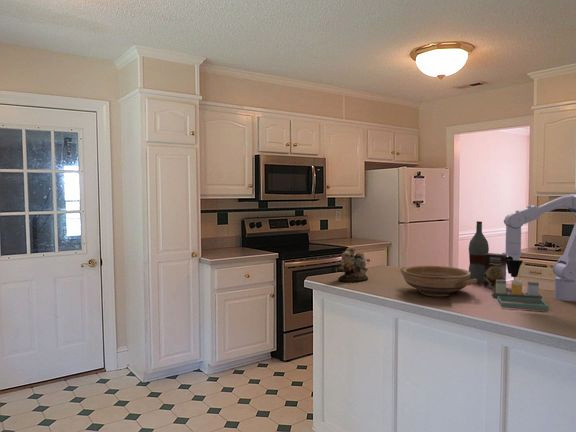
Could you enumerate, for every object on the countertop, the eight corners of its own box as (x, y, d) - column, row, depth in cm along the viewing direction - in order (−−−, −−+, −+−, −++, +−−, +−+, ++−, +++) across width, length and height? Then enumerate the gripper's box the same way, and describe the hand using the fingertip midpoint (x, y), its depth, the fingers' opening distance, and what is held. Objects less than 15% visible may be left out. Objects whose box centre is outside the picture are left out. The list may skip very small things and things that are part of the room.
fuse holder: (539, 300, 191) (539, 293, 190) (543, 303, 184) (543, 296, 184) (491, 297, 196) (491, 290, 196) (493, 300, 190) (493, 293, 189)
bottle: (481, 284, 221) (482, 222, 220) (464, 281, 229) (465, 221, 227) (491, 282, 227) (493, 221, 225) (474, 279, 234) (476, 220, 233)
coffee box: (483, 289, 212) (484, 254, 211) (484, 286, 218) (485, 252, 217) (505, 291, 208) (506, 255, 207) (506, 288, 213) (507, 253, 212)
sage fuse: (504, 296, 192) (505, 280, 192) (505, 297, 190) (506, 281, 190) (495, 296, 193) (495, 279, 193) (496, 297, 191) (496, 280, 191)
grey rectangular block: (536, 298, 189) (537, 281, 188) (538, 299, 187) (538, 282, 186) (527, 298, 190) (527, 281, 190) (528, 299, 188) (528, 282, 187)
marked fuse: (520, 297, 191) (521, 280, 190) (521, 298, 188) (522, 281, 188) (511, 297, 192) (511, 280, 191) (512, 298, 189) (512, 281, 189)
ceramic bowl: (493, 296, 197) (493, 273, 197) (455, 306, 180) (455, 281, 179) (420, 282, 227) (421, 262, 226) (382, 290, 209) (382, 268, 209)
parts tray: (541, 305, 182) (541, 298, 182) (548, 312, 171) (548, 305, 171) (497, 302, 187) (497, 296, 187) (501, 309, 176) (501, 302, 176)
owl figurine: (347, 284, 223) (347, 249, 222) (331, 280, 233) (331, 247, 232) (373, 279, 234) (373, 246, 233) (357, 276, 243) (357, 244, 242)
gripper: (500, 240, 198) (499, 271, 199) (505, 244, 184) (504, 277, 185) (518, 240, 196) (517, 272, 197) (524, 244, 182) (524, 278, 183)
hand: (512, 275), depth 191 cm, fingers open, 7 cm apart
